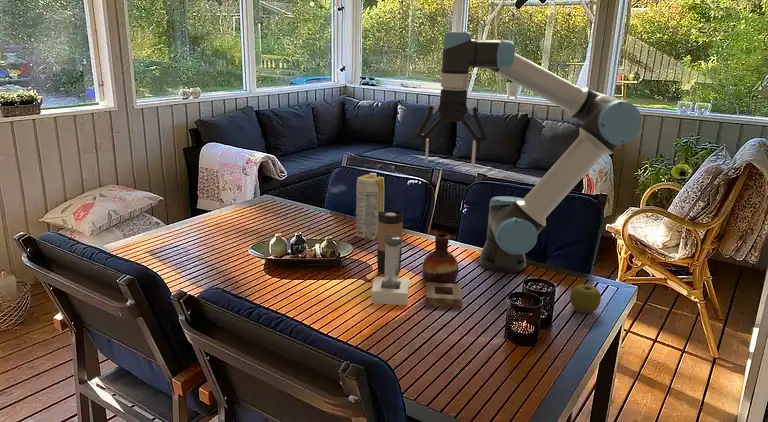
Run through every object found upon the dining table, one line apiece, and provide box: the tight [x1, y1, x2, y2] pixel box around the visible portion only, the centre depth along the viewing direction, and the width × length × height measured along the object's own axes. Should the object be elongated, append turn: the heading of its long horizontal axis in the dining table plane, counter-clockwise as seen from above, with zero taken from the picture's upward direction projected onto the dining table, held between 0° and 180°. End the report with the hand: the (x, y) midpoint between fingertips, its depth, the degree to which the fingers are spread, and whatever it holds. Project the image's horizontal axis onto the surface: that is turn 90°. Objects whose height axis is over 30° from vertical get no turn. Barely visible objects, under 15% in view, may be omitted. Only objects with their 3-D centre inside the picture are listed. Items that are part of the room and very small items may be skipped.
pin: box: [383, 235, 403, 289], centre depth 157 cm, size 5×5×17 cm
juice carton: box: [355, 172, 385, 241], centre depth 207 cm, size 9×8×24 cm
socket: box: [370, 276, 410, 306], centre depth 160 cm, size 10×10×4 cm
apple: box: [569, 284, 602, 314], centre depth 155 cm, size 8×8×7 cm
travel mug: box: [376, 209, 404, 275], centre depth 175 cm, size 8×8×20 cm
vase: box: [421, 232, 460, 284], centre depth 170 cm, size 11×11×15 cm
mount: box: [424, 281, 463, 309], centre depth 159 cm, size 10×10×4 cm
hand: (449, 162), depth 165 cm, fingers open, 13 cm apart
